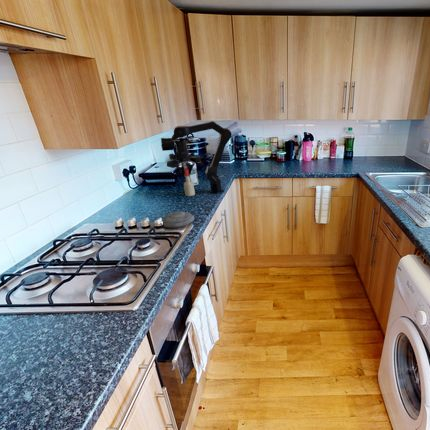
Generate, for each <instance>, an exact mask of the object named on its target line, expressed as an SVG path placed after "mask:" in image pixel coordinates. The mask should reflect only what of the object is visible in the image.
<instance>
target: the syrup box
mask: <svg viewBox="0 0 430 430" xmlns="http://www.w3.org/2000/svg"><path fill="white" fill-rule="evenodd" d="M194 163H195V165H194V166H193V168H192V171H191V174H190V181H192V182H193V183H194V186H197V185H199V184H200V182H199V177H198V176H199V175H198V169H197V164H196V162H194ZM182 166H184V169H185V168H187V166H186V164H185V163H184V164H182ZM188 176H189V175H188Z"/></svg>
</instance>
